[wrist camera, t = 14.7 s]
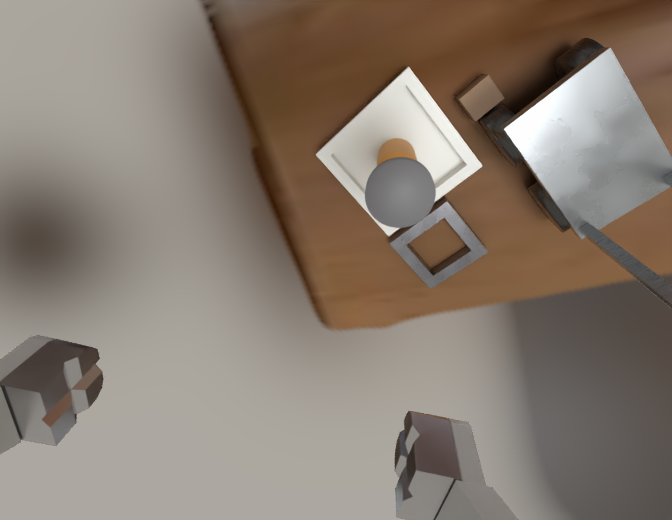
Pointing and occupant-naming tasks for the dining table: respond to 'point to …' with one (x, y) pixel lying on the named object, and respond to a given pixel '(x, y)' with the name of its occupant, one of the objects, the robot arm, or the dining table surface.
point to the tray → (405, 123)
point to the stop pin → (399, 186)
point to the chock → (479, 97)
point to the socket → (449, 265)
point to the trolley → (588, 151)
